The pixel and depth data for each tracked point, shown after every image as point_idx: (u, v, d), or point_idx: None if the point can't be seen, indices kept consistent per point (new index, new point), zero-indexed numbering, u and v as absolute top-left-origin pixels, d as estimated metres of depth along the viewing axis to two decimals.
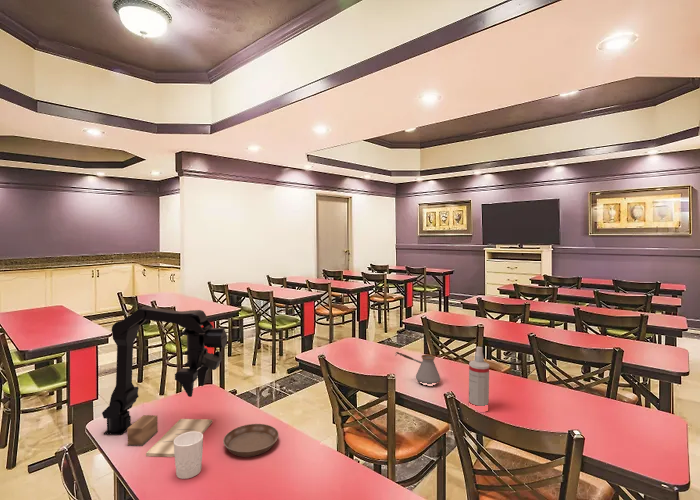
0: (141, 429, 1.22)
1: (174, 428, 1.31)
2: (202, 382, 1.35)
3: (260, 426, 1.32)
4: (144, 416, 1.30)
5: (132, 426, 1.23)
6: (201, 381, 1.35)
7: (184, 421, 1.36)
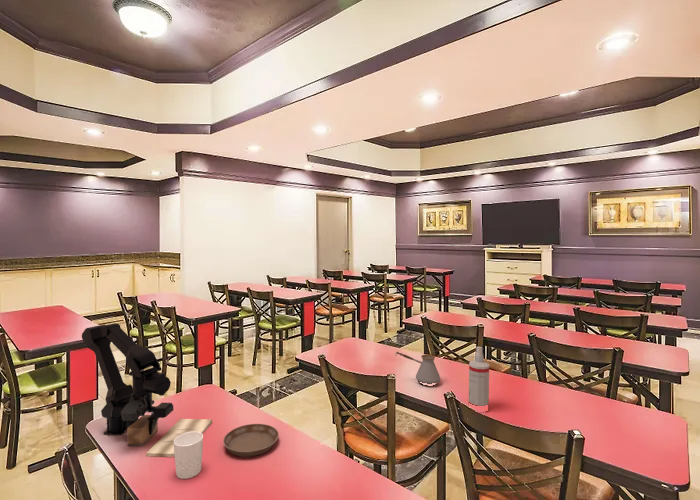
0: (141, 428, 1.22)
1: (174, 428, 1.31)
2: None
3: (259, 426, 1.32)
4: (144, 416, 1.30)
5: (132, 426, 1.23)
6: None
7: (184, 421, 1.36)
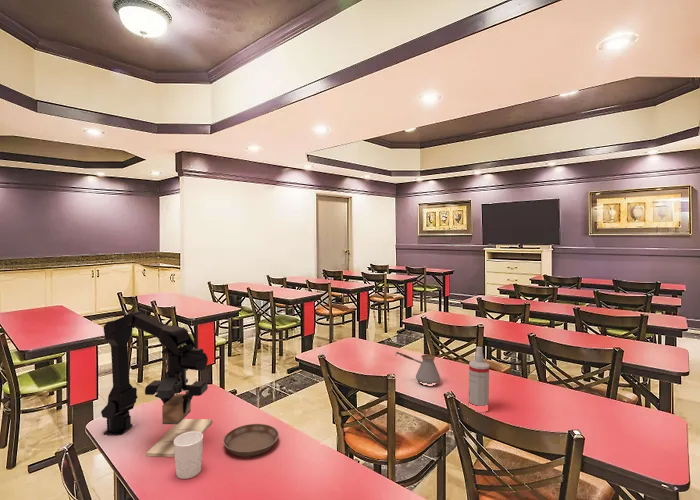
0: (176, 406, 1.19)
1: (174, 428, 1.31)
2: None
3: (260, 426, 1.32)
4: (177, 395, 1.27)
5: (167, 404, 1.20)
6: None
7: (184, 421, 1.36)
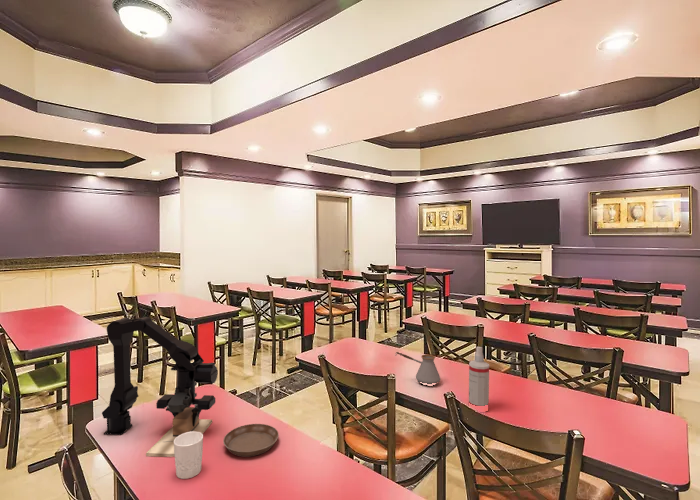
0: (186, 419, 1.26)
1: None
2: None
3: (260, 425, 1.32)
4: (186, 408, 1.34)
5: (177, 417, 1.27)
6: None
7: None
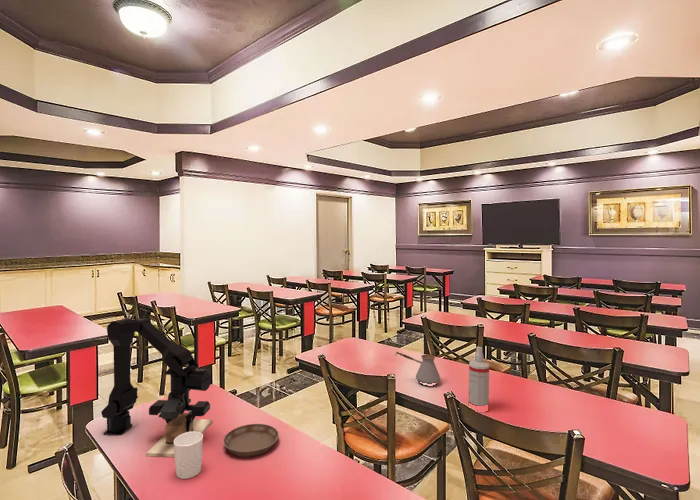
0: (179, 426, 1.21)
1: None
2: None
3: (260, 426, 1.32)
4: (180, 414, 1.29)
5: (170, 424, 1.22)
6: None
7: None
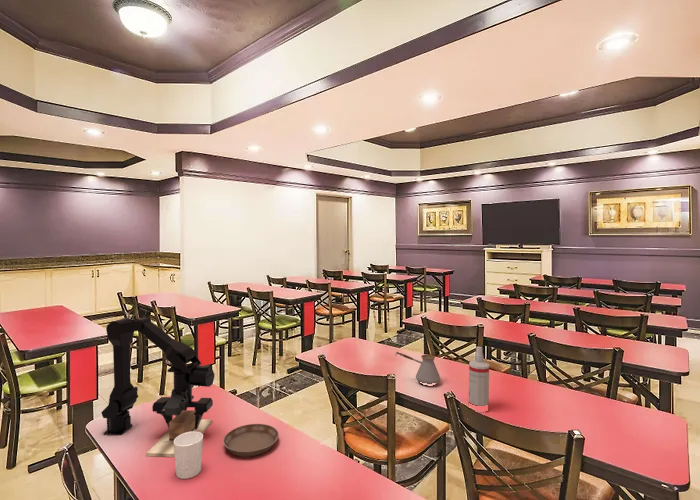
0: (182, 423, 1.23)
1: None
2: None
3: (260, 426, 1.32)
4: (183, 411, 1.31)
5: (173, 421, 1.24)
6: None
7: None
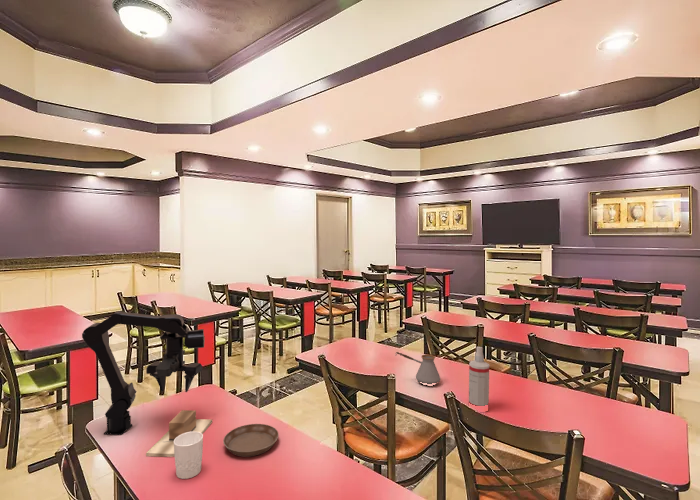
0: (182, 423, 1.23)
1: None
2: None
3: (260, 426, 1.32)
4: (183, 411, 1.31)
5: (173, 421, 1.24)
6: None
7: None
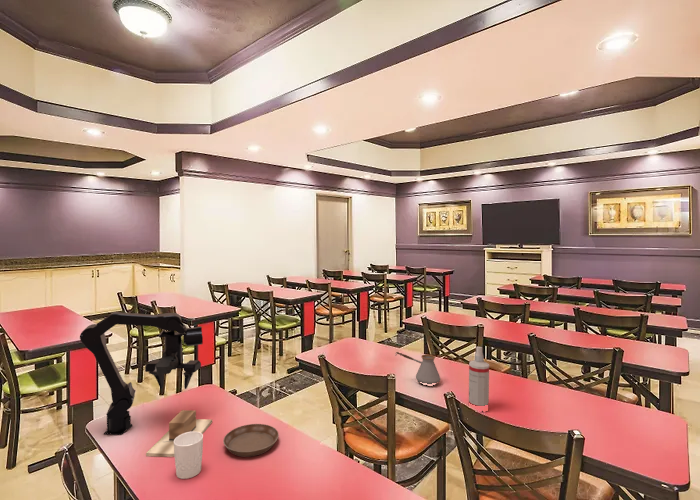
0: (182, 423, 1.23)
1: None
2: None
3: (260, 426, 1.32)
4: (183, 411, 1.31)
5: (173, 421, 1.24)
6: None
7: None
